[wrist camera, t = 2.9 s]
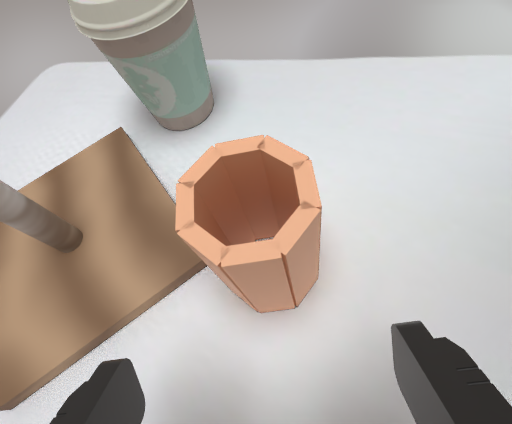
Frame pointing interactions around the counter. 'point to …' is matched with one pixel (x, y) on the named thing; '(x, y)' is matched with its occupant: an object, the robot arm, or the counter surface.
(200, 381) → the counter surface
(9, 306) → the post
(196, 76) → the coffee cup
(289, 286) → the collar
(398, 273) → the counter surface
